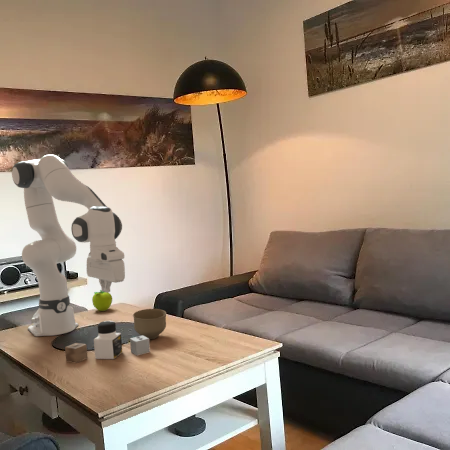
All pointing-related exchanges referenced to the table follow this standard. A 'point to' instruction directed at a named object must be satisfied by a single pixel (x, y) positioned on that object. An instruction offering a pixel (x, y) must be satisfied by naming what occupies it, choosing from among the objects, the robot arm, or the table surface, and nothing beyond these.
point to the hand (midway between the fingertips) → (106, 291)
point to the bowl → (150, 322)
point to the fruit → (102, 300)
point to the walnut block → (76, 352)
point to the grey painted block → (139, 345)
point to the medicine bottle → (107, 341)
